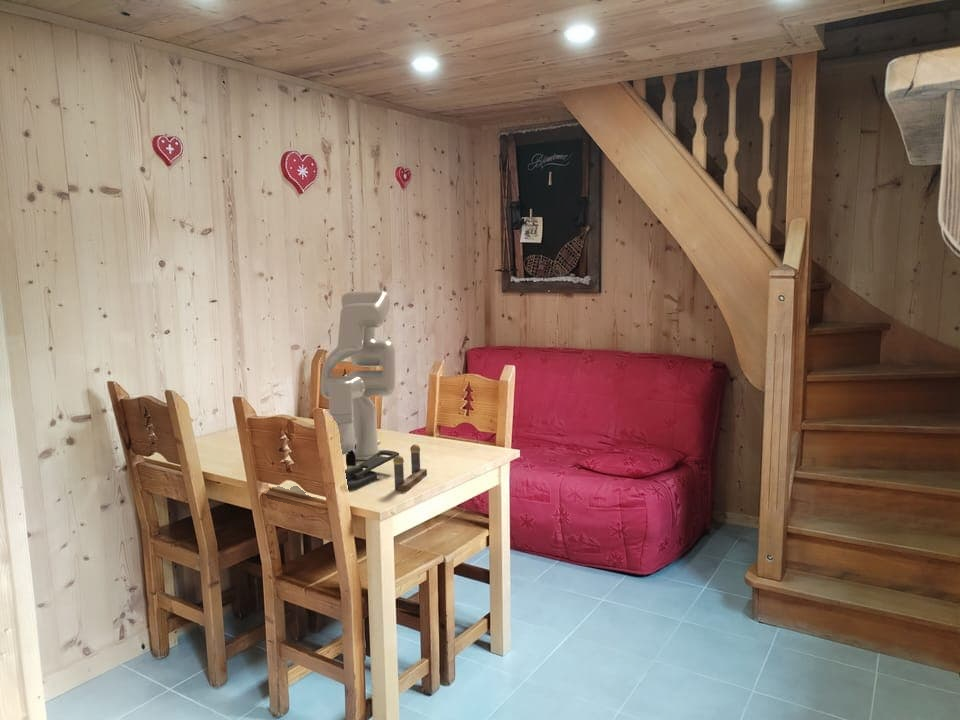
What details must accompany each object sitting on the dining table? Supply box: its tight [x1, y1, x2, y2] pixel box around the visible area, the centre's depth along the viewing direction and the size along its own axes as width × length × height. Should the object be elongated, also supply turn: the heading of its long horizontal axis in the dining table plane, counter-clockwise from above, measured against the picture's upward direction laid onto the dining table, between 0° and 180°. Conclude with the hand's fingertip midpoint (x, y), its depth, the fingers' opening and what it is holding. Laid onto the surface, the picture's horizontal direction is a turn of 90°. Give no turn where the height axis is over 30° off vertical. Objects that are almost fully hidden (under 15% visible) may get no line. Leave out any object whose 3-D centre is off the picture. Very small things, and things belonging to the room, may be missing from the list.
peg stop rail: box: [392, 444, 428, 493], centre depth 210 cm, size 18×5×11 cm, turn 164°
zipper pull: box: [344, 449, 400, 492], centre depth 216 cm, size 9×7×25 cm
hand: (344, 469), depth 217 cm, fingers open, 9 cm apart
